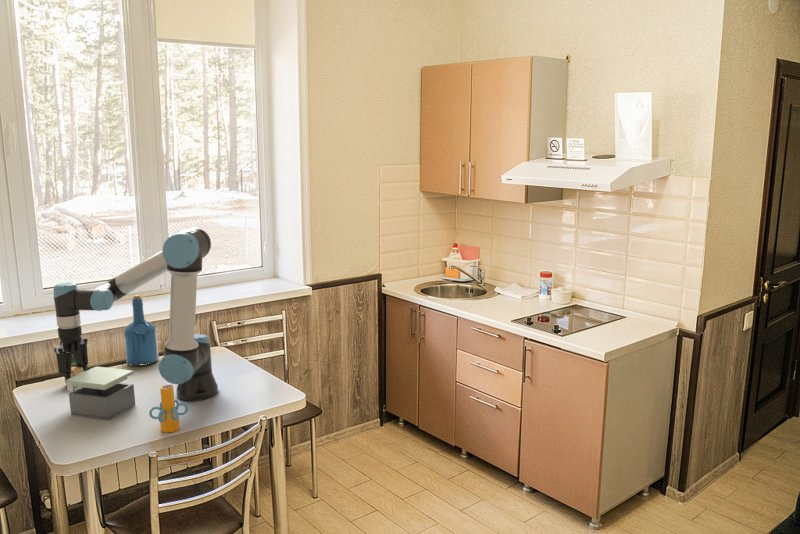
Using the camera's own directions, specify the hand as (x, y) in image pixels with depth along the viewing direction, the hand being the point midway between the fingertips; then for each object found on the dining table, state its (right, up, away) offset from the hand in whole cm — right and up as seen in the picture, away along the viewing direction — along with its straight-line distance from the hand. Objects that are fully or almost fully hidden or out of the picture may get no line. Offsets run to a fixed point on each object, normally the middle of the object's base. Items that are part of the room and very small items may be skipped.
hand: (76, 388), depth 242 cm
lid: (+8, +3, -3) cm, 10 cm away
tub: (+11, -8, -2) cm, 14 cm away
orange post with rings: (+41, -11, -19) cm, 46 cm away
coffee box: (-11, -3, +25) cm, 27 cm away
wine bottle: (+5, +2, +49) cm, 50 cm away
